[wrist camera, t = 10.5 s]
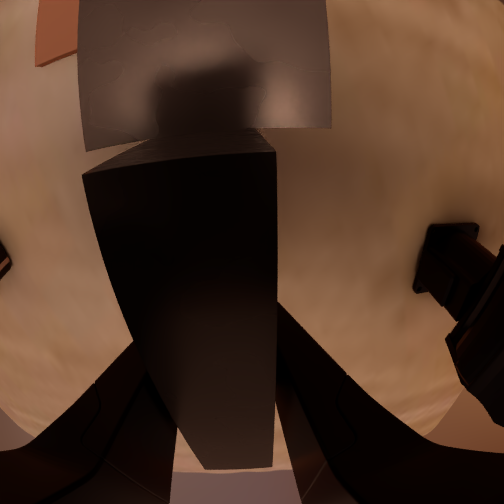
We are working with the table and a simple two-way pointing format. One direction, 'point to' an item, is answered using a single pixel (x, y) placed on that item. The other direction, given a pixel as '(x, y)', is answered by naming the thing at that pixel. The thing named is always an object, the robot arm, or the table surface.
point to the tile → (56, 30)
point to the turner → (199, 194)
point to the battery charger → (4, 263)
